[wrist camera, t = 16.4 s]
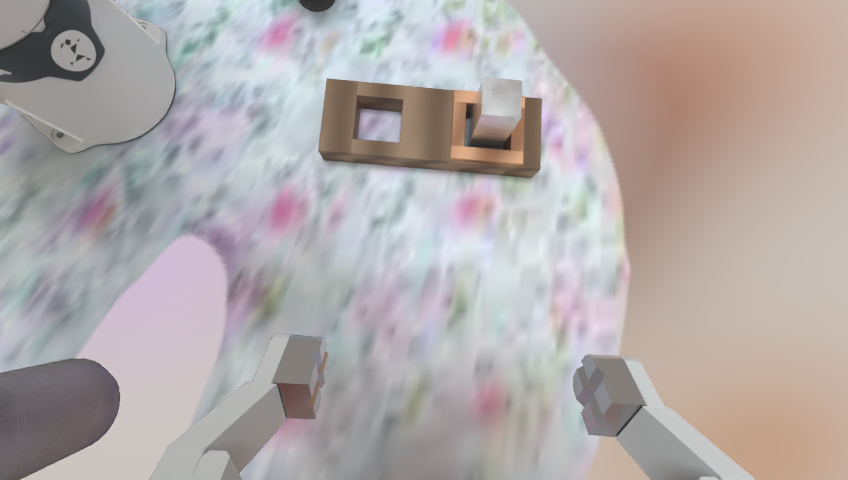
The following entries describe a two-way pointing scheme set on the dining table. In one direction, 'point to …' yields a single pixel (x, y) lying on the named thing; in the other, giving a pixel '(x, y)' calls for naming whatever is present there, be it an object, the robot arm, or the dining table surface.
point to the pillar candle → (53, 413)
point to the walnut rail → (424, 130)
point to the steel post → (494, 113)
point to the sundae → (316, 4)
